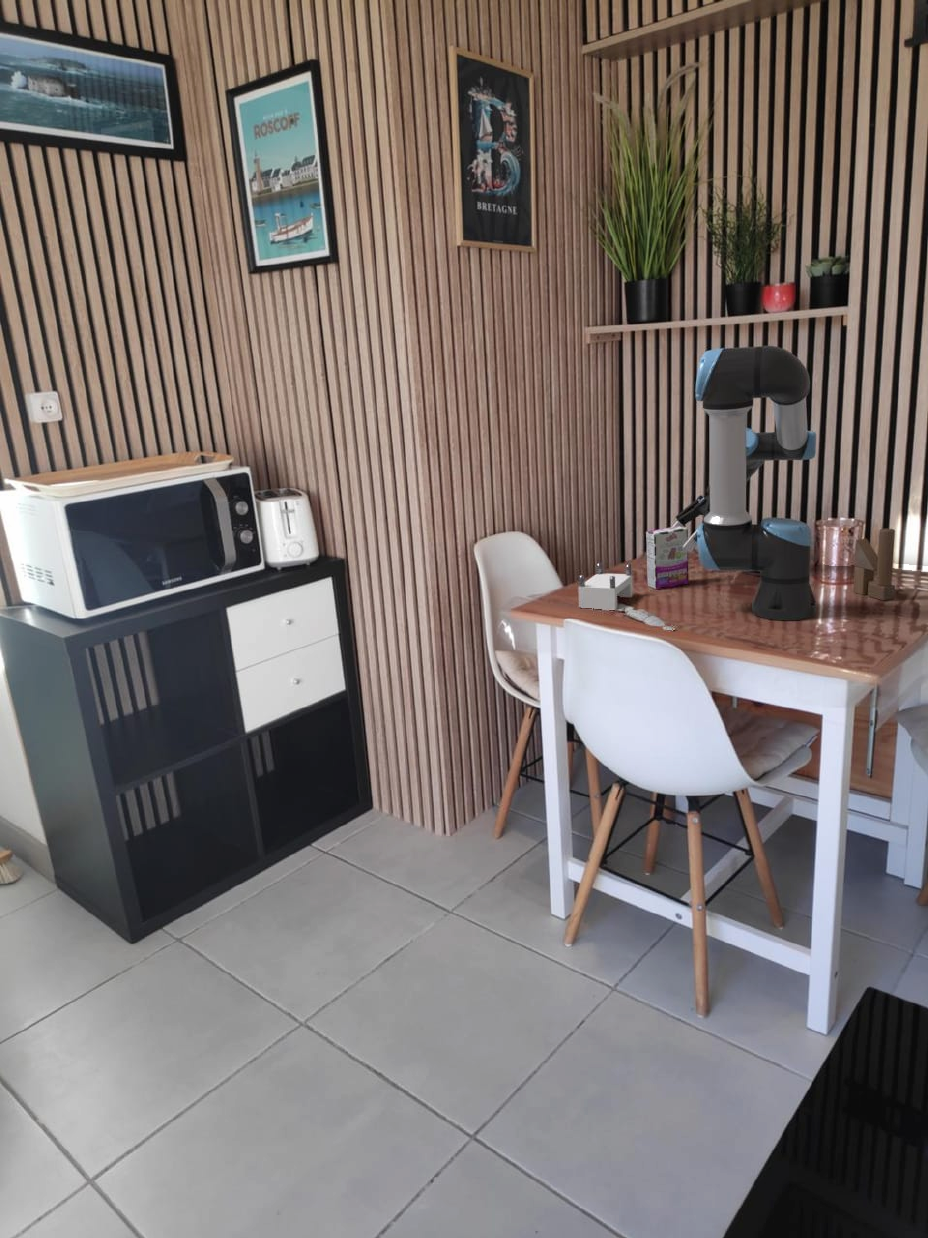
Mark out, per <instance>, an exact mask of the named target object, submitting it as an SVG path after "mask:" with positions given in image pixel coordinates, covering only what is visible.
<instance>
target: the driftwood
mask: <svg viewBox="0 0 928 1238" xmlns="http://www.w3.org/2000/svg"><path fill="white" fill-rule="evenodd" d="M615 611H618V612H619V611H620V613H621V612H624V616H627V617H629V618H632V619H634V620H636V621H640V622H642V623H643V624H645V625H646V626H648V625H649V626H653V627H662V629H663V630H664V631H667V630H672V629H673V630H674V631H675V630H676V628H675V627H673V626H669V625H667V622H665V620H662V619H661V618H660V617H657V616H655V615H653V614H652V613H651V612H648V611H646V610H644V609H641V608H640V609H636V608H635V607H633V606H631V605H626V604H624V603H621V602H617V609H616V610H615ZM673 630H672V631H673ZM674 631H673V632H674Z"/></svg>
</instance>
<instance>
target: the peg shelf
mask: <svg viewBox="0 0 928 1238" xmlns="http://www.w3.org/2000/svg"><path fill="white" fill-rule="evenodd" d="M585 579H586V577H585V574H579V575H578V580H579V583H578V584H579V586H578V608H579V607H581V608H592V609H591V610H593V608H594V609H602V610H601V611H609V610H615V611H617V610H616V609H617V603H618V597H617V596H620V597H619V598H633V595H634V591H633V590H634V589H633V585H634V584H633V583H634V582H633V574H632V563H626V564H625V573H604V572H603V562H597V563H596V574H595V575H593V576H592V577H590V578H589V579H588V580H586V581H585Z"/></svg>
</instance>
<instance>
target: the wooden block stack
mask: <svg viewBox="0 0 928 1238" xmlns="http://www.w3.org/2000/svg"><path fill="white" fill-rule="evenodd" d="M878 531H879V532H878V550H877V551H878V553H876V552H875V549H874V548H873V546H872V545H871V543H870V542H869V540H868V538H861V539H856V540H855V545H854V546H855V548H854V549H855V550H854V571H853V573H854V574H853V589H852V591H853V593H854V594H858V595H862V596H863V595H867V596H868V597H869V598H873V599H877V600H881V601H889V600H893V599H895V593H896V592H895V591H896V586H895V585H894V584H892V583H893V570H894V569H893V568H894V565H893V564H894V555H895V554H894V550H895V538H896V537H895V536H896V530H895V528H881V529H879V530H878ZM875 572H876V580H875V579H874V578H875Z"/></svg>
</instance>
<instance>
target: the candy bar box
mask: <svg viewBox="0 0 928 1238" xmlns="http://www.w3.org/2000/svg"><path fill="white" fill-rule="evenodd" d="M645 537H646V538H645V539H646V569H647V572H646V573H647V574H646V575H647V587H648V588H650V589H654V590H661V589H662V590H664V589H669V588H674V587H678V586H679V587H680V586H684V585H685V586H686V585H689V582H690V580H689V579H690V578H689V577H690V576H689V552H688V551H687V550H686V549H685V548H684V547H683V546H684V544H685V543H686V542H687V541H688V540H689V528H687V527H686V526H685V527H681V526H677V527H673V526H671V527H666V528H659V529H654V530H647V531H645Z"/></svg>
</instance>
